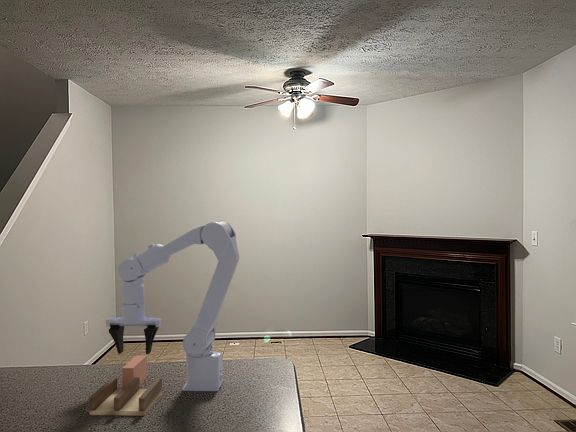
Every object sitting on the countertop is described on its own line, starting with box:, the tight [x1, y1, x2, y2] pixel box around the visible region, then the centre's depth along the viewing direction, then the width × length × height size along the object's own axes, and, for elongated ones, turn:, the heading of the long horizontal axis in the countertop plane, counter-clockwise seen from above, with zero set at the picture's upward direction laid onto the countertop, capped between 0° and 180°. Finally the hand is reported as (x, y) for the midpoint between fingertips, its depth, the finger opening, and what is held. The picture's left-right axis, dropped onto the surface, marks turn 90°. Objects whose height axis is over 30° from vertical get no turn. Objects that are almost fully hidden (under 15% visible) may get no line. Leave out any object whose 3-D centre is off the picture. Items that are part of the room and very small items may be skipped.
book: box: [121, 355, 148, 389], centre depth 131 cm, size 3×10×6 cm, turn 177°
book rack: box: [88, 376, 163, 417], centre depth 118 cm, size 13×13×4 cm
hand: (134, 352), depth 131 cm, fingers open, 7 cm apart
